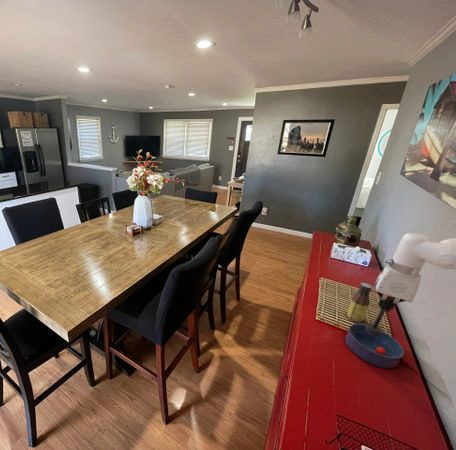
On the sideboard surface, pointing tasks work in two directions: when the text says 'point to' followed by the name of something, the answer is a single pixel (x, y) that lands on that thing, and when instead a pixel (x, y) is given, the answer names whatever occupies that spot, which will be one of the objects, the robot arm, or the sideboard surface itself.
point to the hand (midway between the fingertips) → (384, 308)
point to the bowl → (374, 346)
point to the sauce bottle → (359, 303)
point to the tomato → (381, 351)
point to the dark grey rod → (377, 321)
